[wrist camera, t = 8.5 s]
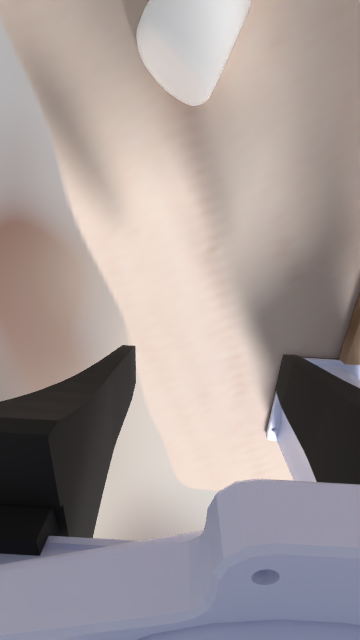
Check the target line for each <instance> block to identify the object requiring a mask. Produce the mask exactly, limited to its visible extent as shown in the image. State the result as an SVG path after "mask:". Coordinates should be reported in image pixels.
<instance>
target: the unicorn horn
mask: <svg viewBox="0 0 360 640" xmlns="http://www.w3.org/2000/svg"><path fill="white" fill-rule="evenodd" d="M250 5H251V0H149V1H148V3H147V5H146V7H145V9H144V12H143V14H142V17H141V19H140V22H139V25H138V28H137V31H136V38H137V46H138V51H139V55H140V57H141V59H142V61H143V63H144V65H145V67H146V68H147V70H148V71H149V72H150V74H151V75H152V76H153V78H154V79H155V80H156V81H157V82H158V83H159V84H160V85H161V86H162V87H163V88H164V89H165V90H166V91H167V92H168V93H169V94H171V95H172V96H174V97H175V98H176V99H178V100H179V101H181V102H183V103H185V104H187V105H190V106H199V105H201V104H203V103H204V102H206V101H207V100H208V99H209V98H210V96H211V94H212V92H213V90H214V88H215V86H216V84H217V82H218V80H219V77H220V75H221V73H222V71H223V68H224V66H225V64H226V62H227V59H228V57H229V55H230V53H231V50H232V48H233V46H234V44H235V41H236V39H237V37H238V34H239V32H240V30H241V28H242V25H243V23H244V21H245V18H246V16H247V14H248V12H249V9H250Z"/></svg>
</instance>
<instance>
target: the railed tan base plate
mask: <svg viewBox="0 0 360 640" xmlns="http://www.w3.org/2000/svg"><path fill="white" fill-rule="evenodd" d="M339 359H340V360H341V361H342V362H343V363H344V364H349V365H360V294H359V297H358V300H357V303H356V306H355V309H354V312H353V315H352V319H351V322H350V325H349V328H348V331H347V334H346V337H345V340H344V343H343V346H342V349H341V353H340V356H339Z"/></svg>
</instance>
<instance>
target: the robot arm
mask: <svg viewBox="0 0 360 640" xmlns="http://www.w3.org/2000/svg"><path fill="white" fill-rule="evenodd" d="M135 383H136V360H135V346H126V345H122V346H121V347H119V348H118V349H117V350H115V351H114V352H112V353H111V354H110V355H108V356H106V357H105V358H103V359H102V360H100V361H99V362H97V363H96V364H94V365H92V366H91V367H89V368H87V369H86V370H84V371H82V372H80V373H79V374H77V375H75V376H73V377H71V378H68V379H66V380H64V381H62V382H60V383H57V384H55V385H52V386H50V387H47V388H44V389H42V390H39V391H36V392H33V393H30V394H27V395H23V396H20V397H17V398H13V399H9V400H5V401H1V402H0V640H360V365H349V364H344V363H343V362H342V361H341V360H334V359H317V358H302V357H299V356H297V355H284V354H283V359H282V363H281V367H280V372H279V376H278V380H277V385H276V389H275V390H276V394H275V398H274V403H273V407H272V411H271V415H270V420H269V424H268V428H267V433H266V436H267V439H268V440H272V441H277V442H278V444H279V447H280V449H281V451H282V454H283V456H284V458H285V461H286V463H287V465H288V468H289V470H290V472H291V475H292V477H293V479H294V481H288V480H270V479H252V480H245V481H237V482H234V483H233V484H231V485H229V486H227V487H226V488H224V489H222V490H220V491H219V492H218V493H217V494H216V495H215V497H214V499H213V500H212V502H211V504H210V506H209V507H208V510H207V518H206V524H205V528H204V530H201V531H195V532H189V533H184V534H178V535H171V536H165V537H159V538H154V539H147V540H142V541H132V540H114V539H98V538H93V534H94V529H95V524H96V520H97V516H98V511H99V507H100V503H101V499H102V494H103V490H104V486H105V482H106V478H107V474H108V470H109V466H110V462H111V458H112V454H113V450H114V447H115V444H116V441H117V438H118V435H119V433H120V430H121V427H122V425H123V422H124V419H125V416H126V414H127V411H128V408H129V406H130V403H131V400H132V396H133V391H134V388H135ZM273 427H275V428H273Z"/></svg>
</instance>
